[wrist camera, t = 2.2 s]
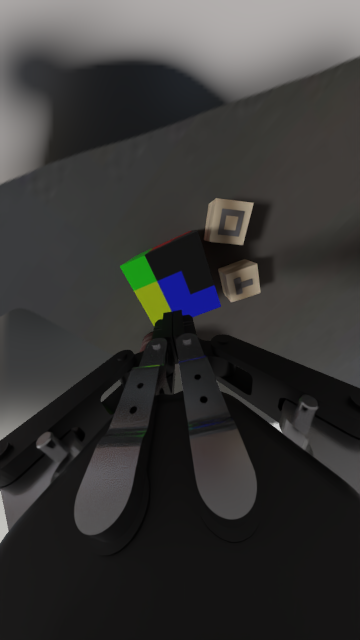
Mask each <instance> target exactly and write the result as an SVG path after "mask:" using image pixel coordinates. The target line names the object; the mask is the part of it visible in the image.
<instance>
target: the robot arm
mask: <svg viewBox="0 0 360 640" xmlns="http://www.w3.org/2000/svg"><path fill="white" fill-rule="evenodd" d="M178 359H179V368H180V375H181V381H182V388H183V391H181V392H178V393H176V394H174V385H175V370H174V369H175V364H178ZM237 366H238V367H237ZM246 371H247V372H246ZM118 380H120V382H121V385H120V386H119V387H118V388H117V389H116V390H115V391H114V392H113V393H112V394H110V395H109V396H108V397H107V398H106V399H105V400H104V401H103V402H101V401H100V400H101V396H102V395H103V393H104V392H105V391H106V390H108V389H109V388H110V387H111V386H112V385H113V384H114V383H116V382H117V381H118ZM217 381H219V382H220V383H222V384H223V385H225V386H226V387H228V388H229V389H230V390H232V391H233V392H235V393H236V394H238V395H239V396H241V397H242V398H244V399H245V400H247V401H248V402H249V403H251V404H252V405H254V406H255V407H257V408H258V409H260V410H261V411H263V412H264V413H266V414H267V415H268V416H270V417H271V418H273V419H274V420H276V421H277V422H279V425H280V428H281V431H282V433H281V432H280V431H279V430H277V429H276V428H275V427H273V426H272V425H271V424H269V423H268V422H267V421H265V420H264V419H263V418H261V417H260V416H259V415H258V414H256V413H255V412H254V411H252V410H251V409H250V408H248V407H247V406H246V405H244V404H243V403H242V402H240V401H239V400H238V399H236V398H234V397H233V396H231V395H229V394H227V393H224V392H221V391H220V388H219V385H218V383H217ZM0 491H1V494H2V499H3V504H4V509H5V514H6V519H7V524H8V529H9V532H8V533H7V534H6V536H5V537H4V539H3V540H2V542H1V543H0V640H360V388H358V387H355V386H353V385H350V384H348V383H345V382H343V381H340V380H338V379H335V378H333V377H331V376H328V375H326V374H323V373H321V372H318V371H316V370H313V369H311V368H308V367H306V366H303V365H301V364H299V363H296V362H294V361H291V360H289V359H286V358H284V357H281V356H279V355H276V354H274V353H271V352H269V351H266V350H264V349H262V348H259V347H257V346H254V345H252V344H249V343H247V342H244V341H242V340H239V339H237V338H234V337H232V336H229V335H217V336H215V337H213V338H212V340H211V341H204V340H201V339H199V338H198V337H197V335H196V331H195V327H194V322H193V318H192V316H190V315H189V314H188V315H183V314H182V310H177V311H173V312H172V311H171V312H165V313H163V319H159V320H157V322H156V323H155V325H154V331H153V336H152V340H151V341H150V342H148V343H147V345H146V347H145V350H144V351H142V352H139V353H137V354H134V353H133V352H132V351H131V350H123V351H120V352H118V353H117V354H115V355H114V356H113V357H111V358H110V359H109V360H107V361H106V362H105V363H103V364H102V365H101V366H99V367H98V368H97V369H95V370H94V371H93V372H91V373H90V374H89V375H87V376H86V377H85V378H83V379H82V380H81V381H79V382H78V383H77V384H75V385H74V386H73V387H71V388H70V389H69V390H67V391H66V392H65V393H63V394H62V395H61V396H59V397H58V398H57V399H55V400H54V401H53V402H51V403H50V404H49V405H48V406H46V407H45V408H43V409H42V410H41V411H39V412H38V413H37V414H35V415H34V416H33V417H31V418H30V419H29V420H27V421H26V422H25V423H23V424H22V425H21V426H19V427H18V428H17V429H15V430H14V431H13V432H11V433H10V434H9V435H7V436H6V437H5V438H3V439H2V440H1V441H0Z"/></svg>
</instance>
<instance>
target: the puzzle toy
mask: <svg viewBox="0 0 360 640" xmlns="http://www.w3.org/2000/svg"><path fill="white" fill-rule="evenodd" d="M120 268H121V269H122V271H123V273H124V275H125V276H126V278H127V280H128V282H129V283H130V285H131V287H132V288H133V290H134V292H135V294H136V295H137V297H138V299H139V301H140V302H141V304H142V306H143V308H144V309H145V311H146V313H147V315H148V316H149V318H150V320H151V322H152V323H153V325H155V323H156V322H157V320H159V319H163V313H165V312H171V311H172V312H173V311H177V310H182V314H183V315H188V314H189V315H190V316H192V317H194V316H197V315H200V314H202V313H205V312H208V311H210V310H213V309H216V308H219V307H221V305H220V302H219V298H218V295H217V292H216V288H215V285H214V282H213V279H212V275H211V272H210V269H209V265H208V262H207V259H206V255H205V252H204V249H203V246H202V242H201V239H200V236H199V232H198V231H189V232H187V233H185V234H182V235H180V236H178V237H176V238H174V239H172V240H169V241H167V242H165V243H163V244H161V245H159V246H156V247H154V248H152V249H150V250H148V251H145V252H143V253H141V254H139V255H137V256H135V257H134V258H132V259H131V260H129V261H127V262H126V263H124V264H123V265H121V266H120Z"/></svg>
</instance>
